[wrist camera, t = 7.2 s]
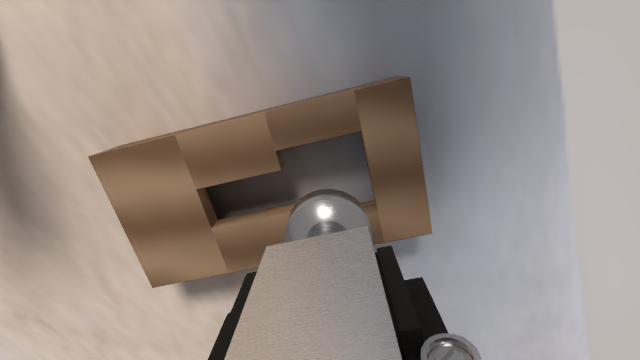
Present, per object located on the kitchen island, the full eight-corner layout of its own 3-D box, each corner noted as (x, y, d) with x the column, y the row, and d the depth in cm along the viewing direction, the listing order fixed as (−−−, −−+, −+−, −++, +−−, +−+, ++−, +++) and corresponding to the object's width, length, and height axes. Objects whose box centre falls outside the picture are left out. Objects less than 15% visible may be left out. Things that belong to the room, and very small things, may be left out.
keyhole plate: (122, 145, 27) (88, 156, 23) (397, 76, 24) (409, 76, 21) (174, 261, 31) (152, 287, 27) (418, 212, 28) (432, 233, 24)
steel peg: (278, 198, 16) (174, 446, 5) (360, 181, 16) (429, 411, 5) (299, 268, 18) (250, 581, 7) (375, 254, 17) (457, 563, 6)
